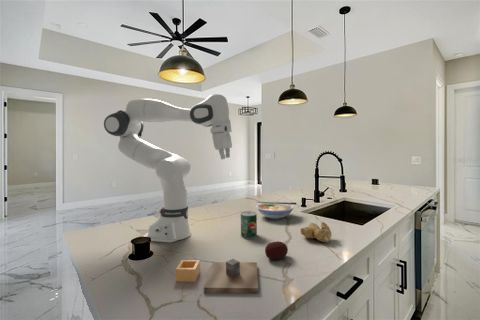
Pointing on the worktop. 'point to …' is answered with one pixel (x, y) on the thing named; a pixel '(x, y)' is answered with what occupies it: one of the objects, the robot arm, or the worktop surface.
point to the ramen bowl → (275, 209)
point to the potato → (276, 250)
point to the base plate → (232, 277)
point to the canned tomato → (248, 224)
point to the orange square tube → (188, 271)
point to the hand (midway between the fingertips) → (225, 158)
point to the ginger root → (317, 232)
